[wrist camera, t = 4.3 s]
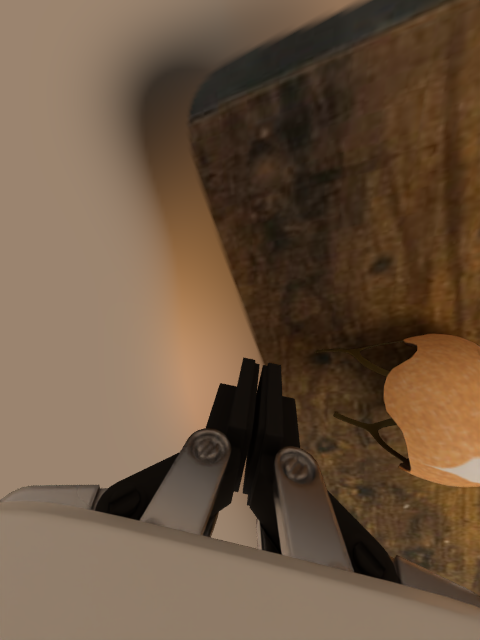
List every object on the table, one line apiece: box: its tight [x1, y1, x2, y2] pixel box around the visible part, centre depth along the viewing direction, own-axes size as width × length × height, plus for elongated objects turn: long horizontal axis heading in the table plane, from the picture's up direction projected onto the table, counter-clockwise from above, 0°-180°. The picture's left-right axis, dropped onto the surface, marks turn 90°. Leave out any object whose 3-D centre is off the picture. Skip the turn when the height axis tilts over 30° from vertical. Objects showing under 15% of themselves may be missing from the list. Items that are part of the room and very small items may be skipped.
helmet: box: [314, 334, 480, 487], centre depth 12 cm, size 6×7×8 cm
